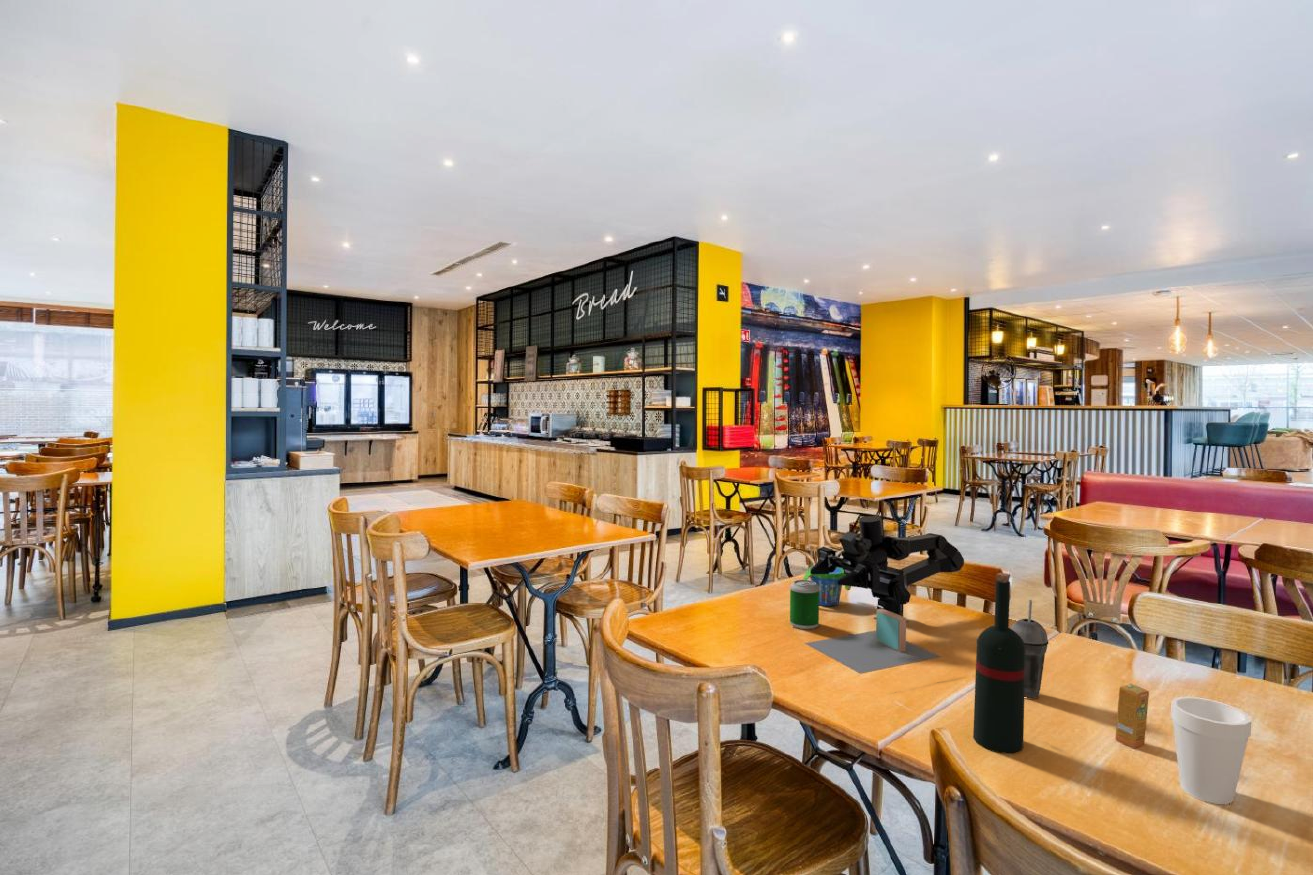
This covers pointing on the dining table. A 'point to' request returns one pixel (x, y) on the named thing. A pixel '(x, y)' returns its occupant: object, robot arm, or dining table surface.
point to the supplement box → (1132, 715)
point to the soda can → (804, 604)
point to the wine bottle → (1000, 680)
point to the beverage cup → (1032, 652)
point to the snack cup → (828, 586)
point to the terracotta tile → (891, 630)
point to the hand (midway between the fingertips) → (824, 577)
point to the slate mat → (869, 652)
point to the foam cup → (1209, 747)
